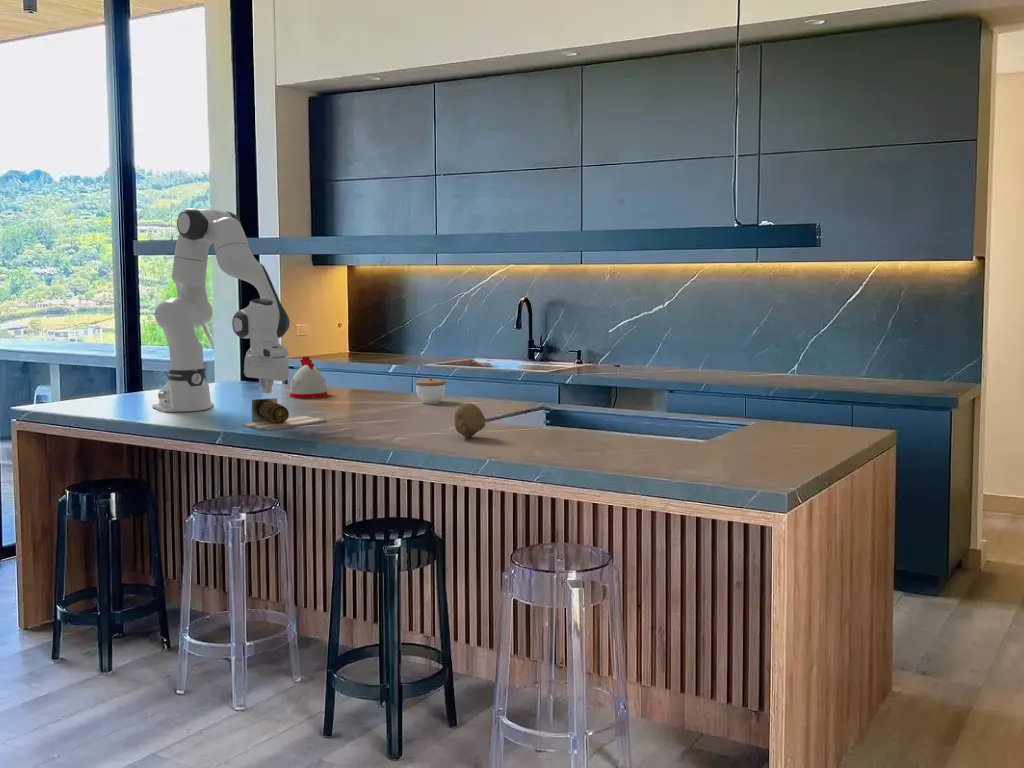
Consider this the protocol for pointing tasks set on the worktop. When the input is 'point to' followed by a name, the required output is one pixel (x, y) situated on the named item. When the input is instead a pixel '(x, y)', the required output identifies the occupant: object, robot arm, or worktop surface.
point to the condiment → (268, 411)
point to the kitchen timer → (308, 381)
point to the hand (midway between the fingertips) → (266, 392)
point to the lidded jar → (430, 390)
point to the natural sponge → (469, 420)
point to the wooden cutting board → (284, 423)
